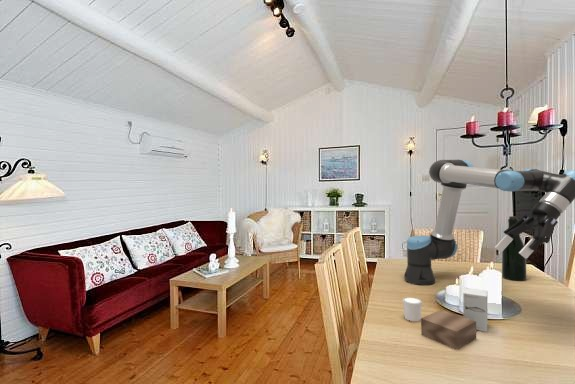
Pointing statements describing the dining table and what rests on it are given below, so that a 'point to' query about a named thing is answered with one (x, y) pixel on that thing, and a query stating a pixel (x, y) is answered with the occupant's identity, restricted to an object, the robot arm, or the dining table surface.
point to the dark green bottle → (514, 257)
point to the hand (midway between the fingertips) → (509, 252)
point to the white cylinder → (412, 308)
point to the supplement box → (476, 307)
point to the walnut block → (448, 329)
